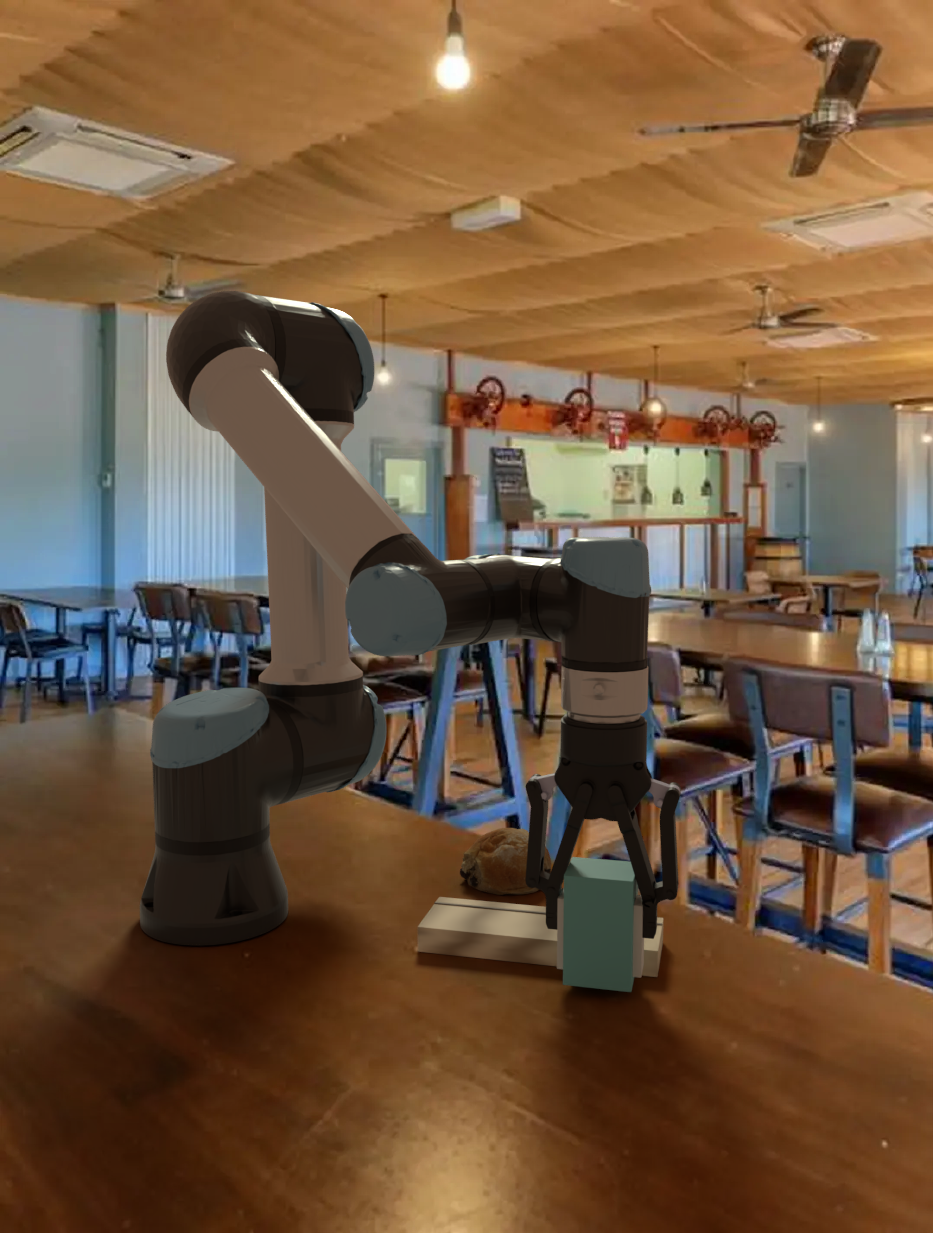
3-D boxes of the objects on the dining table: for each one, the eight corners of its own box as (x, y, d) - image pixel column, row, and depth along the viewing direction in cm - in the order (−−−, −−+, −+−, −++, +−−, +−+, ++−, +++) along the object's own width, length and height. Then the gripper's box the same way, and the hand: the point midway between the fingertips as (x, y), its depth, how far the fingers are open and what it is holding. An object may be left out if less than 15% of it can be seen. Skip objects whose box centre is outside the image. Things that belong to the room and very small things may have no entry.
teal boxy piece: (562, 984, 96) (563, 875, 94) (583, 927, 108) (584, 830, 107) (631, 992, 94) (633, 881, 93) (643, 933, 107) (645, 835, 105)
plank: (417, 951, 105) (417, 925, 105) (439, 919, 113) (439, 895, 112) (657, 976, 99) (657, 949, 99) (662, 941, 107) (663, 916, 107)
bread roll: (527, 931, 119) (559, 870, 117) (445, 886, 120) (475, 825, 119) (539, 898, 129) (569, 841, 127) (463, 857, 130) (491, 800, 128)
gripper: (488, 717, 93) (488, 973, 96) (714, 728, 89) (707, 997, 91) (506, 700, 100) (505, 939, 103) (716, 710, 96) (709, 960, 98)
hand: (600, 966), depth 97 cm, fingers closed on teal boxy piece, 6 cm apart
